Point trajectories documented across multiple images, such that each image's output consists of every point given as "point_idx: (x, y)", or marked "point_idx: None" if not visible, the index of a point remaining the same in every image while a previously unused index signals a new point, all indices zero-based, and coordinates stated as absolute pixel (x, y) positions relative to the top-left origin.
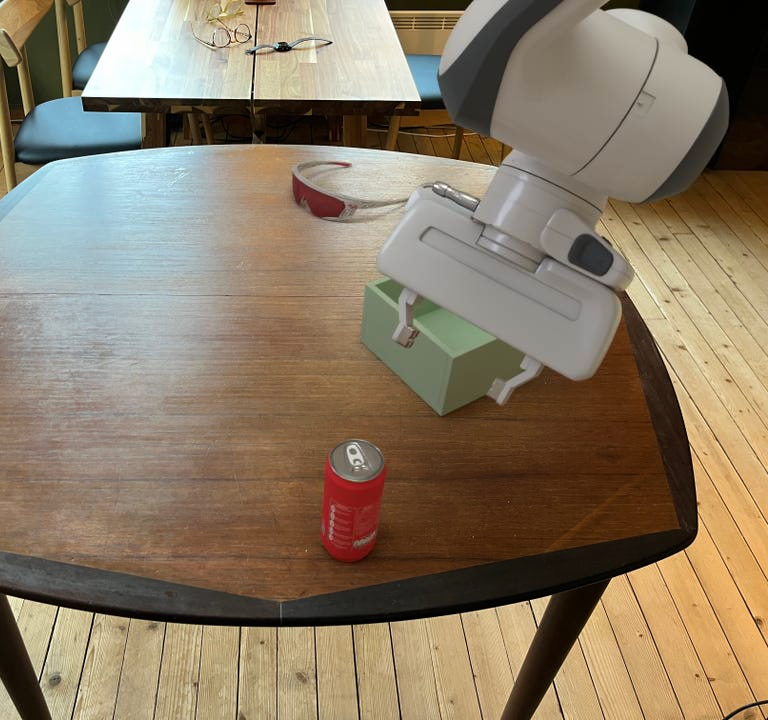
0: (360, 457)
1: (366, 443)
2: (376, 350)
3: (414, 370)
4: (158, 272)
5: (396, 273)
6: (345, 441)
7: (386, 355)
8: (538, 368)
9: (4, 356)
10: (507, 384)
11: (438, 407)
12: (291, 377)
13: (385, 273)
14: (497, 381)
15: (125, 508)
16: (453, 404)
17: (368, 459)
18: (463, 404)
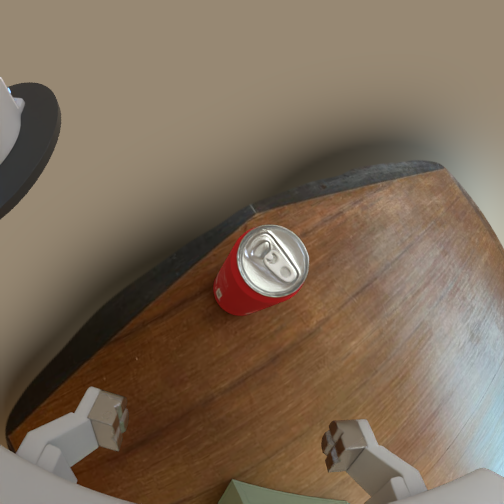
0: (272, 266)
1: (277, 295)
2: (328, 501)
3: (284, 501)
4: (483, 422)
5: (466, 486)
6: (302, 281)
7: (317, 501)
8: (20, 446)
9: (494, 293)
10: (83, 417)
11: (239, 483)
12: (376, 425)
13: (475, 472)
14: (106, 420)
15: (388, 230)
16: (227, 494)
17: (261, 268)
18: (219, 501)
